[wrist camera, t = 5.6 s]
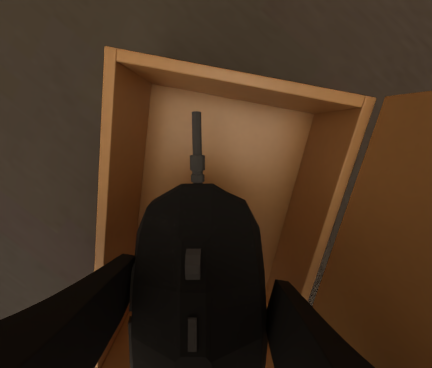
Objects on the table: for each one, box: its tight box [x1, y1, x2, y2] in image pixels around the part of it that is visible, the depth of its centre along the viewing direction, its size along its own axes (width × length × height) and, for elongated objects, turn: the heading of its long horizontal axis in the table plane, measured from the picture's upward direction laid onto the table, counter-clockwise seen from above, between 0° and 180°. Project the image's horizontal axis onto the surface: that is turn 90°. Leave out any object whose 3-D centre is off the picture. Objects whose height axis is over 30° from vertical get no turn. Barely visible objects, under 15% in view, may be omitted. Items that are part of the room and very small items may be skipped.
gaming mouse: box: [128, 111, 268, 368], centre depth 9 cm, size 6×15×4 cm, turn 1°
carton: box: [94, 46, 376, 368], centre depth 14 cm, size 18×12×6 cm, turn 170°
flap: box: [312, 91, 432, 368], centre depth 8 cm, size 18×6×1 cm
